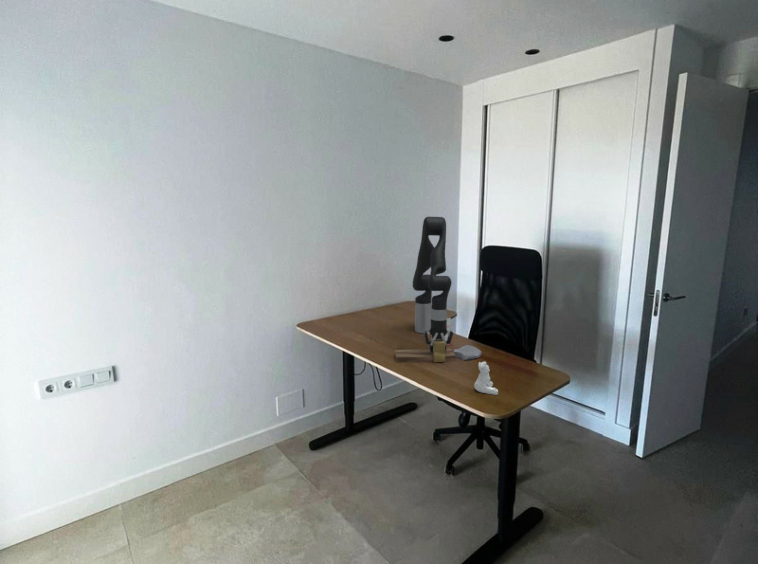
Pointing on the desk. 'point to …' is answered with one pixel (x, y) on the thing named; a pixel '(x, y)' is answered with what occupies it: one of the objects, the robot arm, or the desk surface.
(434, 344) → the wooden mallet
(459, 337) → the desk surface
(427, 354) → the board
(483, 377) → the seated beast figurine
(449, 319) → the ink cartridge box
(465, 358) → the stone block
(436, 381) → the desk surface
